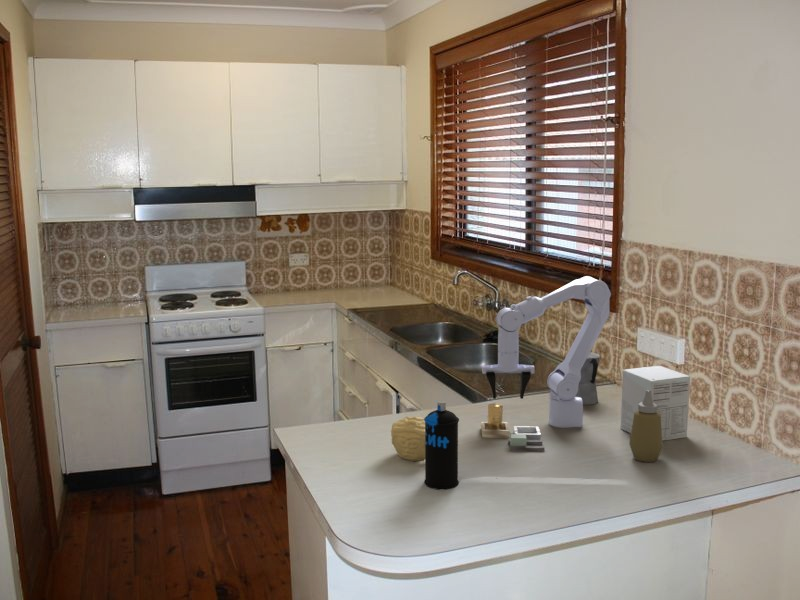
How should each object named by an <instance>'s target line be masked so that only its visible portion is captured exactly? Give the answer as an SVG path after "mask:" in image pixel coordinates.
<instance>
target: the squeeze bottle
mask: <svg viewBox="0 0 800 600" xmlns="http://www.w3.org/2000/svg"><path fill="white" fill-rule="evenodd" d="M629 446H630V449H631V453H632V457H633V459H635V460H637V461H638V462H643V461H644V462H647V463H654V462H656V461H657V460H658V458H659V456H660V454H661V452H662V449H663V441H662V430H661V415H660V414H659V413H658V412H657V404H655V403H653V400H652V394H651V390H646V393H645V396H644V400H643V402H641V403H639V404H638V411H636V412H635V413H634V418H633V424H632V431H631V433H630V438H629Z"/></svg>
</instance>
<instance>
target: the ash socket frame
mask: <svg viewBox="0 0 800 600" xmlns="http://www.w3.org/2000/svg"><path fill="white" fill-rule="evenodd" d="M480 423H481V424H480V431H481V437H482V438H495V439H496V438H498V439H499V438H500V439H501V438H502V439H503V438H505V439H507V438H510V434H511V433H510V432H511V431H510V427H509V422H508V421H502V430H488V421H481V422H480Z"/></svg>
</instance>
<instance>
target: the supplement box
mask: <svg viewBox="0 0 800 600" xmlns="http://www.w3.org/2000/svg"><path fill="white" fill-rule="evenodd" d="M690 386H691V375H687V374H684V373H681V372H680V371H676V370H672V369H671V368H668V367H665V366H662V365H653V366H645V367H643V366H642V367H636V368H634V367H633V368H626V369H622V384H621V405H620V406H621V407H620V409H621V410H620V412H621V414H620V429H621V430H623V431H625V432H627V433H629V434H631V431H632V424H633V418H634V413H635V412H636V411H638V404H639V403H641V402H643V400H644V396H645V393H646V390H651V394H652V400H653V403H655V404H657V412H658V413H659V414H660V415H661V430H662V442H663V441H670V440H676V439H682V438H687V437H688V423H689V422H688V421H689V420H688V419H689V406H690V405H689V403H690Z"/></svg>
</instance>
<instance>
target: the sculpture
mask: <svg viewBox="0 0 800 600" xmlns="http://www.w3.org/2000/svg"><path fill="white" fill-rule="evenodd" d="M424 418H425V417H420V416H411V417H410V416H405V417H403V418H402V419H400V420H398V421H395V422H393V423H392V424H391V431H390V432H391V445H393V447H394V448H395V451H396V453H397V454H398V456H400V457H401V458H402V459H404V460H406V461H411V462H412V461H414V462H419V461H420V462H421V461H425V421H424Z"/></svg>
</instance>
